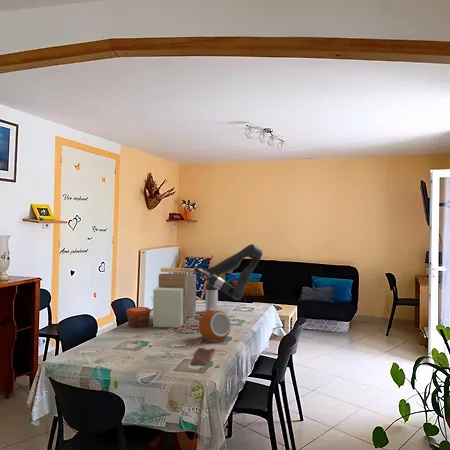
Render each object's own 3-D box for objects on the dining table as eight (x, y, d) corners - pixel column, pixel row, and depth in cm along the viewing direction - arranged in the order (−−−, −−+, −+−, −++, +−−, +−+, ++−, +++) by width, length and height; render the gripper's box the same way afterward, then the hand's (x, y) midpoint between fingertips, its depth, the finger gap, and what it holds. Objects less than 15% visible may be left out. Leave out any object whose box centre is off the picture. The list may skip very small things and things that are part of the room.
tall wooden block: (159, 318, 298) (160, 273, 297) (188, 319, 296) (188, 273, 295) (156, 322, 289) (156, 274, 288) (185, 323, 287) (185, 275, 286)
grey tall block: (195, 315, 309) (196, 274, 309) (194, 317, 303) (194, 275, 303) (176, 314, 310) (176, 273, 310) (174, 316, 305) (175, 274, 304)
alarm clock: (208, 344, 239) (208, 313, 239) (193, 336, 254) (193, 307, 253) (236, 339, 249) (236, 309, 249) (220, 332, 264) (221, 304, 264)
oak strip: (162, 271, 294) (162, 267, 294) (202, 272, 292) (202, 268, 292) (160, 271, 290) (160, 268, 290) (201, 273, 288) (201, 269, 288)
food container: (120, 326, 276) (120, 310, 276) (136, 321, 290) (136, 305, 290) (140, 329, 268) (140, 312, 268) (155, 324, 282) (155, 308, 282)
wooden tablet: (208, 364, 203) (187, 360, 204) (207, 369, 203) (187, 365, 204) (216, 348, 229) (198, 345, 231) (215, 352, 229) (197, 349, 231)
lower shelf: (156, 323, 286) (157, 287, 285) (183, 324, 284) (183, 288, 283) (153, 326, 277) (153, 289, 276) (180, 327, 275) (180, 290, 274)
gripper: (220, 275, 295) (199, 262, 297) (218, 278, 281) (196, 264, 283) (215, 284, 296) (194, 271, 297) (212, 288, 282) (190, 274, 283)
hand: (195, 268), depth 290 cm, fingers closed on oak strip, 4 cm apart
